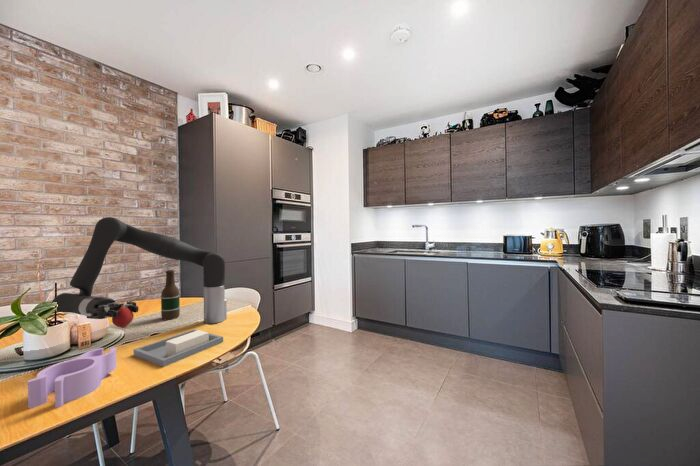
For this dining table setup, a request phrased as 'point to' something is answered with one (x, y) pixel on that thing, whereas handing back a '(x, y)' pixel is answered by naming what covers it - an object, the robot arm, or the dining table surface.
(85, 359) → the clip
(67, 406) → the dining table surface
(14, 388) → the dining table surface
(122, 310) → the onion
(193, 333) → the white box
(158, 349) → the tray
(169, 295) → the beer bottle
